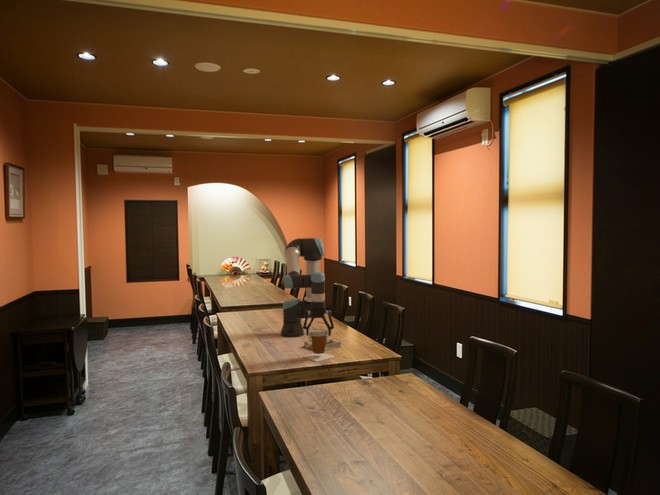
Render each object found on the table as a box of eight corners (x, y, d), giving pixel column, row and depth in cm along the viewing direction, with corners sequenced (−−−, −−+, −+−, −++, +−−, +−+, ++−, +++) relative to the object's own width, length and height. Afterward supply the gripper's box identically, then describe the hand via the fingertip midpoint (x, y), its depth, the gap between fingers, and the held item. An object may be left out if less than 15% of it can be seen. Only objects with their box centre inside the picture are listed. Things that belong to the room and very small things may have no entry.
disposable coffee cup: (325, 355, 251) (325, 333, 250) (308, 354, 253) (308, 332, 252) (329, 350, 260) (328, 329, 260) (312, 349, 262) (312, 328, 262)
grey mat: (302, 356, 258) (302, 356, 258) (320, 352, 266) (320, 351, 266) (317, 362, 248) (317, 361, 248) (335, 357, 256) (335, 356, 256)
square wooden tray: (304, 346, 279) (304, 341, 279) (324, 342, 289) (324, 337, 289) (320, 351, 267) (320, 346, 267) (340, 346, 277) (340, 341, 277)
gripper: (297, 302, 252) (297, 343, 253) (338, 302, 251) (338, 343, 252) (298, 299, 260) (299, 339, 261) (338, 299, 258) (339, 339, 259)
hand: (318, 341), depth 256 cm, fingers closed on disposable coffee cup, 9 cm apart
